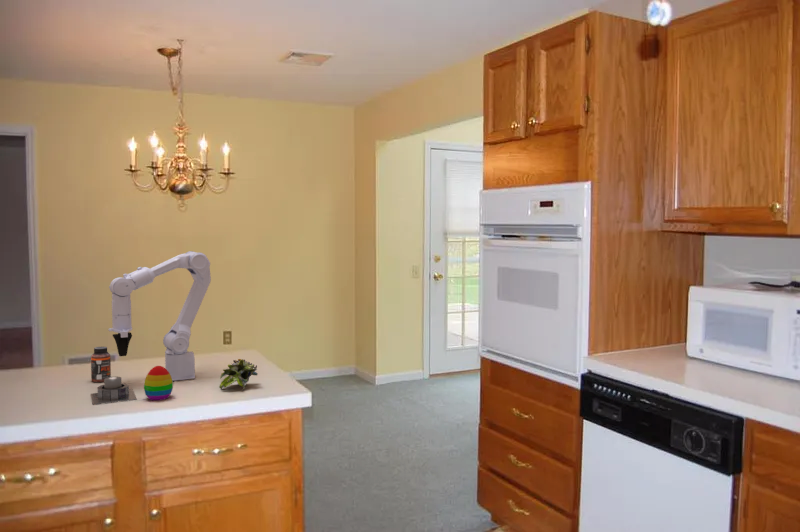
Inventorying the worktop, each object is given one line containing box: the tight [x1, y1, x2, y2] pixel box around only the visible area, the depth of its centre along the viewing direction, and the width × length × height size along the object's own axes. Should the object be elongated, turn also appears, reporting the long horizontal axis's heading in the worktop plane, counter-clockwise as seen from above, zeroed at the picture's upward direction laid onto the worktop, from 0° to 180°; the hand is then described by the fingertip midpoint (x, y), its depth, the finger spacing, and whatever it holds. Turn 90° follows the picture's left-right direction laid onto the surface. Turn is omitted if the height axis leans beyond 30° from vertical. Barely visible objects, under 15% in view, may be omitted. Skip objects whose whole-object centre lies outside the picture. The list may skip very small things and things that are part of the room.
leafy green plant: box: [218, 358, 259, 391], centre depth 203 cm, size 11×11×12 cm
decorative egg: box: [143, 365, 174, 401], centre depth 191 cm, size 8×8×10 cm
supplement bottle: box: [90, 346, 112, 383], centre depth 211 cm, size 6×6×11 cm
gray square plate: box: [90, 382, 138, 406], centre depth 192 cm, size 12×12×3 cm
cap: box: [103, 376, 123, 389], centre depth 192 cm, size 5×5×6 cm
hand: (122, 355), depth 205 cm, fingers closed
